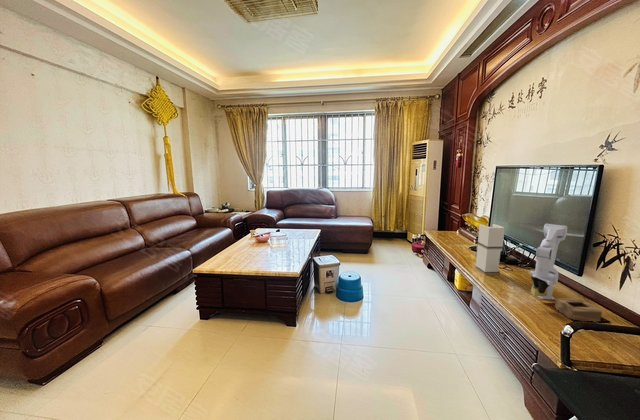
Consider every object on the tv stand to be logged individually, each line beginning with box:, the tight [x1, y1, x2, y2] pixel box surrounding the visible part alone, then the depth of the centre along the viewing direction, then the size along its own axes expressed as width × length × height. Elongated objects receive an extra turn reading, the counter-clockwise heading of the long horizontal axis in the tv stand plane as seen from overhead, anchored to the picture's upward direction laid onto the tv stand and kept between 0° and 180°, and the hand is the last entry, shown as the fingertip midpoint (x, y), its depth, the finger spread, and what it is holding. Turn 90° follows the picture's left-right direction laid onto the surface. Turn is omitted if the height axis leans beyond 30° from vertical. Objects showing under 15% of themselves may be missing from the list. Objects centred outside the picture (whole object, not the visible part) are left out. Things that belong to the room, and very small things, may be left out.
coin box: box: [554, 297, 603, 323], centre depth 132 cm, size 12×12×6 cm
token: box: [530, 286, 547, 297], centre depth 140 cm, size 3×6×4 cm, turn 82°
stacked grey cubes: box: [475, 223, 505, 276], centre depth 185 cm, size 11×11×35 cm
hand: (539, 291), depth 140 cm, fingers closed on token, 3 cm apart
